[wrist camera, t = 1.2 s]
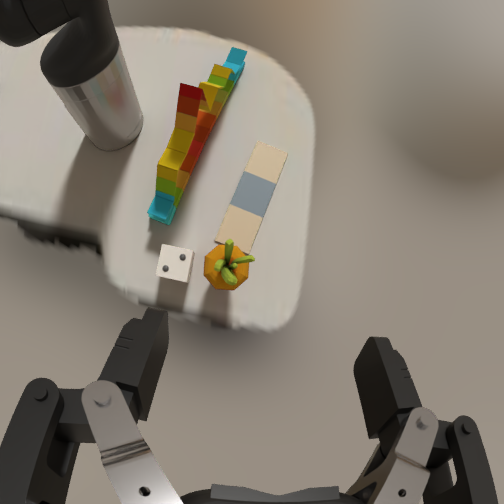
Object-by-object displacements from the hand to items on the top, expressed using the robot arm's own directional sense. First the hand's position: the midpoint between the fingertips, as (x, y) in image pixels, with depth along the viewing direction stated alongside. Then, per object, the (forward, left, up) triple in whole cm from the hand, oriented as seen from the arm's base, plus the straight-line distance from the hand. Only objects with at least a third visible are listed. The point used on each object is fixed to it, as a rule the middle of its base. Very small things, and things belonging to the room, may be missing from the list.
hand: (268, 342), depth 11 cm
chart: (-13, +22, -30) cm, 39 cm away
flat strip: (-2, +15, -30) cm, 33 cm away
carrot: (-2, +3, -30) cm, 30 cm away
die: (-8, +2, -30) cm, 31 cm away
